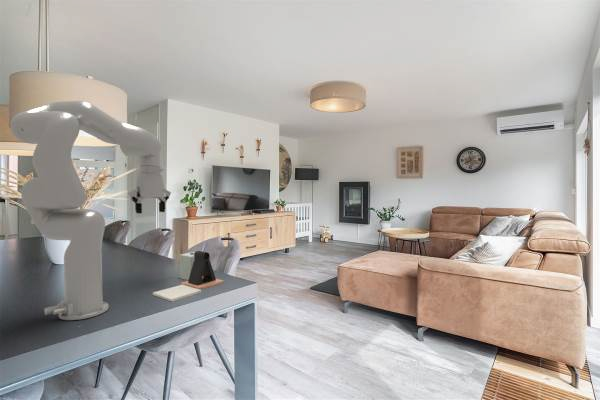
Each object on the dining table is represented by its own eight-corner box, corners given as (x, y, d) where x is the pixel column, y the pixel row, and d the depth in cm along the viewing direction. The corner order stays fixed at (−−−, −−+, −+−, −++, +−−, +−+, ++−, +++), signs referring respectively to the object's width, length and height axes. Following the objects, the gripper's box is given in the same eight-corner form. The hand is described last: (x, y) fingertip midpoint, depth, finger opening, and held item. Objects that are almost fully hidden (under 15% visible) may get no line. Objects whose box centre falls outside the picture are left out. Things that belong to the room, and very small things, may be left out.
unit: (190, 280, 130) (190, 255, 129) (179, 277, 134) (179, 253, 134) (205, 277, 136) (205, 252, 135) (194, 274, 140) (194, 250, 140)
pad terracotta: (199, 290, 118) (199, 288, 118) (180, 284, 125) (180, 282, 125) (224, 282, 127) (224, 280, 127) (205, 277, 134) (205, 275, 134)
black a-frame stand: (197, 285, 121) (196, 254, 120) (187, 282, 124) (187, 252, 124) (216, 280, 128) (215, 250, 128) (206, 277, 132) (206, 249, 131)
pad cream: (171, 301, 105) (171, 299, 105) (152, 294, 112) (152, 292, 112) (201, 292, 115) (201, 290, 115) (182, 286, 122) (182, 284, 122)
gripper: (164, 172, 138) (165, 211, 138) (123, 170, 124) (124, 213, 124) (174, 171, 133) (175, 211, 134) (133, 169, 119) (133, 214, 120)
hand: (150, 212), depth 129 cm, fingers open, 9 cm apart
